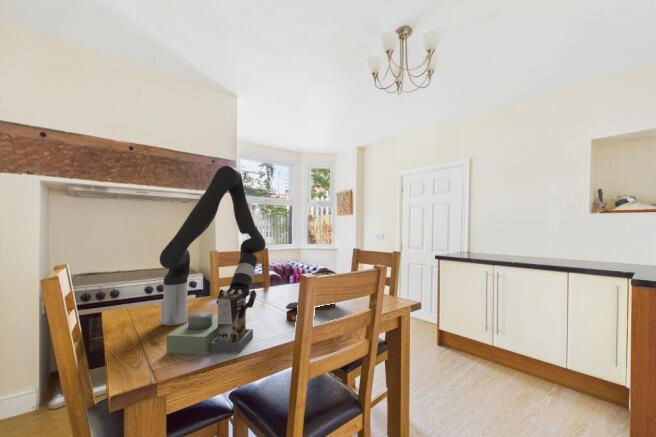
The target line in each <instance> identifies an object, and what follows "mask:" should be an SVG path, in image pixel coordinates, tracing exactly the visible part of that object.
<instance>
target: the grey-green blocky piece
mask: <svg viewBox="0 0 656 437" xmlns="http://www.w3.org/2000/svg"><path fill="white" fill-rule="evenodd" d="M253 337H254V329H253V328H246V334H245V335H244V336H243V337H242V338H241V339H240V340H239V341H238V342H237V343H229V342H218V317H213V313H212V312H211V311H198V312H193V313H191V314H188V315H187V322H185V323H183V325H182V326H181V325H180V327H178V328H176V329H175V330H173V331H171V332H169V333H168V334H166V354H169V355H170V354H172V355H193V356H194V355H198V356H206V355H207V354H208V353H223V354H224V353H227V354H228V353H229V354H240V352H241V351H242V350H243V349H244V348H245V346H246V345H247V344H248V343H249V342H250V341H251V340H252V339H253Z"/></svg>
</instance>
